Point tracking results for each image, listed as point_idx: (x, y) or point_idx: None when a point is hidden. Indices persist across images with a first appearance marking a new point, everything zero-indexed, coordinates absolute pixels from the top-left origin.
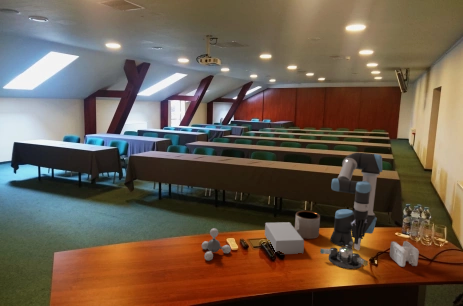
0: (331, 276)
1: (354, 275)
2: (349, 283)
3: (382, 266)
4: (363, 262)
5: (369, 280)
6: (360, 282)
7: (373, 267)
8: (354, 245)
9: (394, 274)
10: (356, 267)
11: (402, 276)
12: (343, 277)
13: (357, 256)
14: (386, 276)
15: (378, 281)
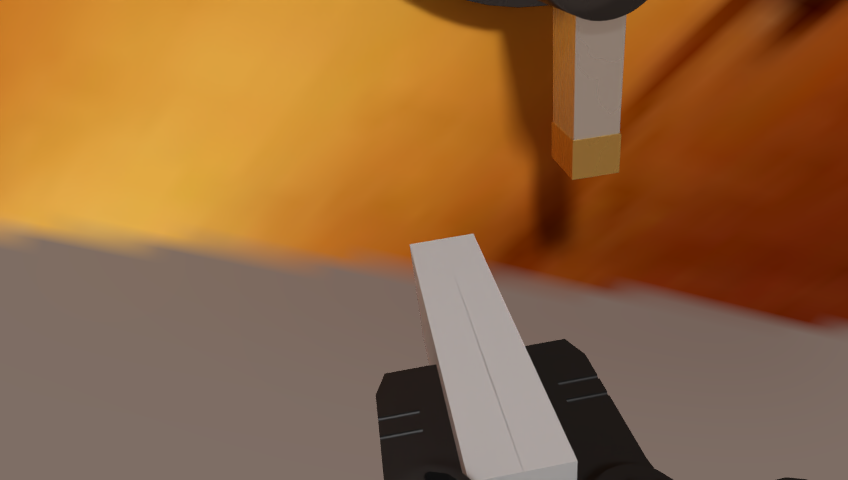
0: (53, 65)
1: (373, 129)
2: (210, 243)
3: (843, 60)
4: (563, 137)
5: None
6: (342, 254)
7: (732, 46)
8: (420, 287)
9: (779, 223)
10: (517, 5)
11: (804, 266)
12: (209, 129)
13: (588, 12)
14: (677, 232)
15: (528, 279)
